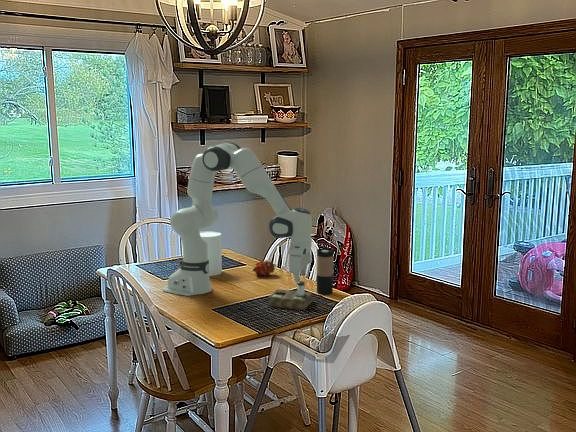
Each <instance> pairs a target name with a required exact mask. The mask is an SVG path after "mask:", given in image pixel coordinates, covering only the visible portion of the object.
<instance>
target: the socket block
mask: <svg viewBox="0 0 576 432" xmlns="http://www.w3.org/2000/svg"><path fill="white" fill-rule="evenodd" d="M267 298H268V299H267V300H268V301H267V303H268V304H267V305H268V306H267V307H271V308H280V309H281V308H282V309H289V310H290V309H291V310H303V311H305V310H307V308H308V307H309V306H310V304H311V303H312V302H313V292H312V291H311V292H310V291H305V298H303V297H297V290H288V289H278V288H276V290H274V292H273V293H271V294H270V295H269V296H268V297H267Z"/></svg>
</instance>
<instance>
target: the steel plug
mask: <svg viewBox="0 0 576 432" xmlns="http://www.w3.org/2000/svg"><path fill="white" fill-rule="evenodd" d="M305 285H306V283H305V281H302V280H301V281H300V280H299V282H296V291H297V297H303V298H305V292H306V291H305V290H306V288H305Z"/></svg>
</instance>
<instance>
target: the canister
mask: <svg viewBox="0 0 576 432" xmlns="http://www.w3.org/2000/svg"><path fill="white" fill-rule="evenodd" d="M200 236H201V238H202V239H203V240H205V241H206V242H207V245H208V260H209V277H212V276H218V275H221V274H222V272H223V271H222V270H223V269H222V267H223V263H222V262H223V261H222V233H221V232H218V231H200Z"/></svg>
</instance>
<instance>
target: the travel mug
mask: <svg viewBox="0 0 576 432" xmlns="http://www.w3.org/2000/svg"><path fill="white" fill-rule="evenodd" d="M334 254H335V253H334V249H332V248H328V247H321V248H317V250H316V293H317V294H318V295H321V296H329V295H332V294H333V290H334V287H333V286H334V258H335V257H334Z"/></svg>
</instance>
